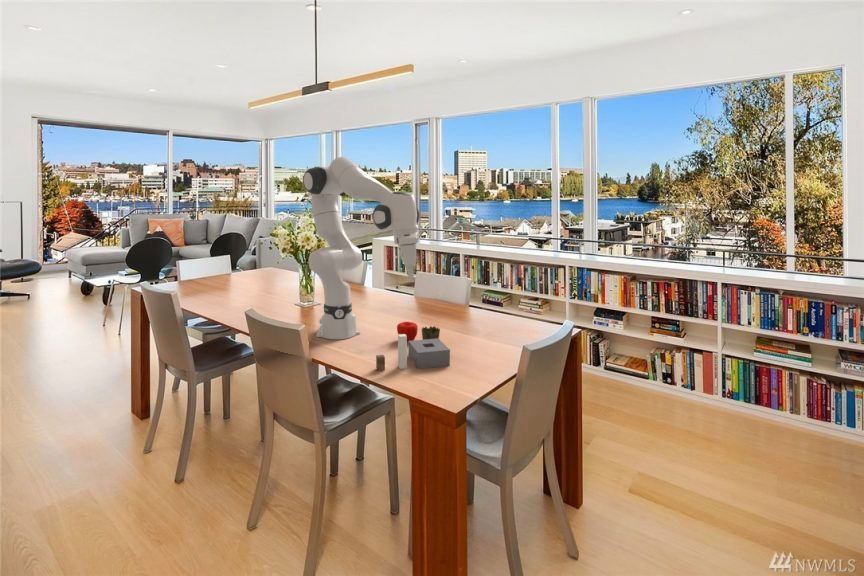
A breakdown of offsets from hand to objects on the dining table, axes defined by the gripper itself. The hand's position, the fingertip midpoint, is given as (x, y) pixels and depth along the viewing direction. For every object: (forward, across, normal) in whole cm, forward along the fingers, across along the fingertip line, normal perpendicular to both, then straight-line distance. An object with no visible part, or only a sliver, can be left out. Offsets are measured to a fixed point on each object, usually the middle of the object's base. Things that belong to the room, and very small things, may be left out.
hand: (410, 277), depth 168 cm
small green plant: (+32, -20, +6) cm, 38 cm away
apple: (+31, -29, -3) cm, 42 cm away
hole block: (+33, -5, +4) cm, 33 cm away
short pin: (+32, +3, -14) cm, 35 cm away
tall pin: (+32, +1, -6) cm, 33 cm away
